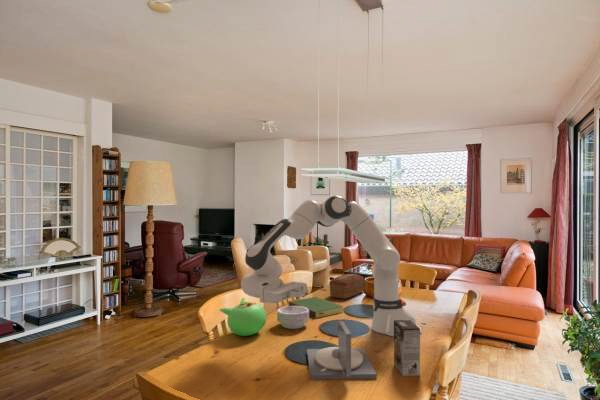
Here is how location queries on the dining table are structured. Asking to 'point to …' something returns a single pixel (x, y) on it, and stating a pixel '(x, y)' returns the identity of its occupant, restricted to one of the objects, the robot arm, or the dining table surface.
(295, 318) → the paper bowls
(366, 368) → the dial board
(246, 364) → the dining table surface
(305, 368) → the dining table surface
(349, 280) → the bread
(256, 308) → the green teapot
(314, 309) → the hardcover book
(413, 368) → the coffee box
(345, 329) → the dial
